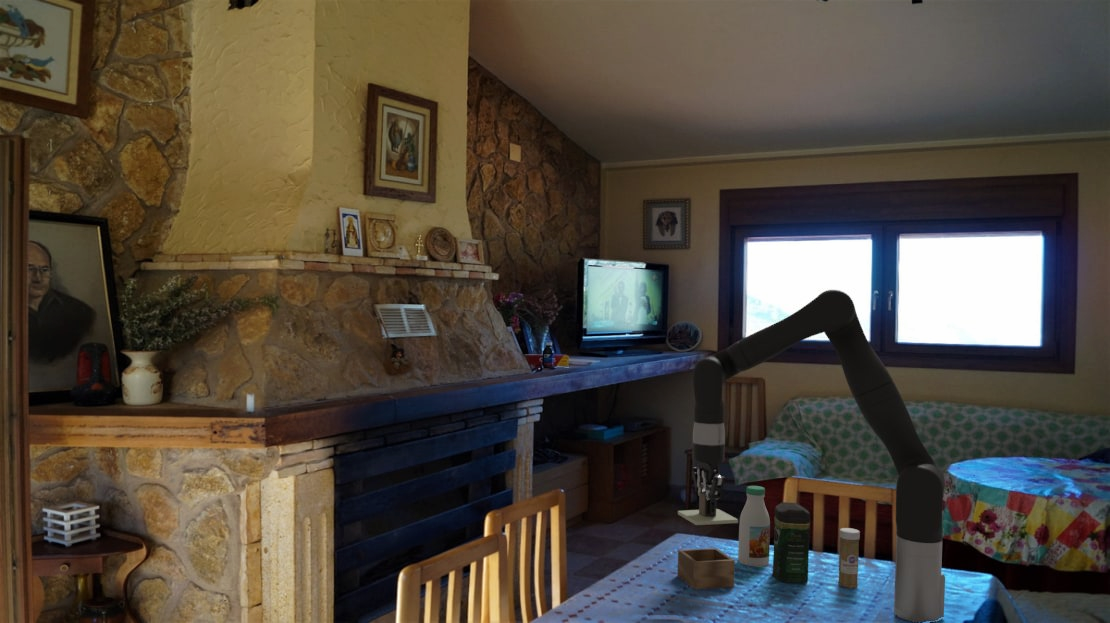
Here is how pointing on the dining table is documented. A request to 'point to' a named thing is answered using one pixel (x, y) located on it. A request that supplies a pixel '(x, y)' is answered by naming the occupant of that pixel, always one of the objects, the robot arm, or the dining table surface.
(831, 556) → the dining table surface
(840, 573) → the sprinkles bottle
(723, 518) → the lid
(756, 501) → the milk bottle
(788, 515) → the coffee jar
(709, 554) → the box
